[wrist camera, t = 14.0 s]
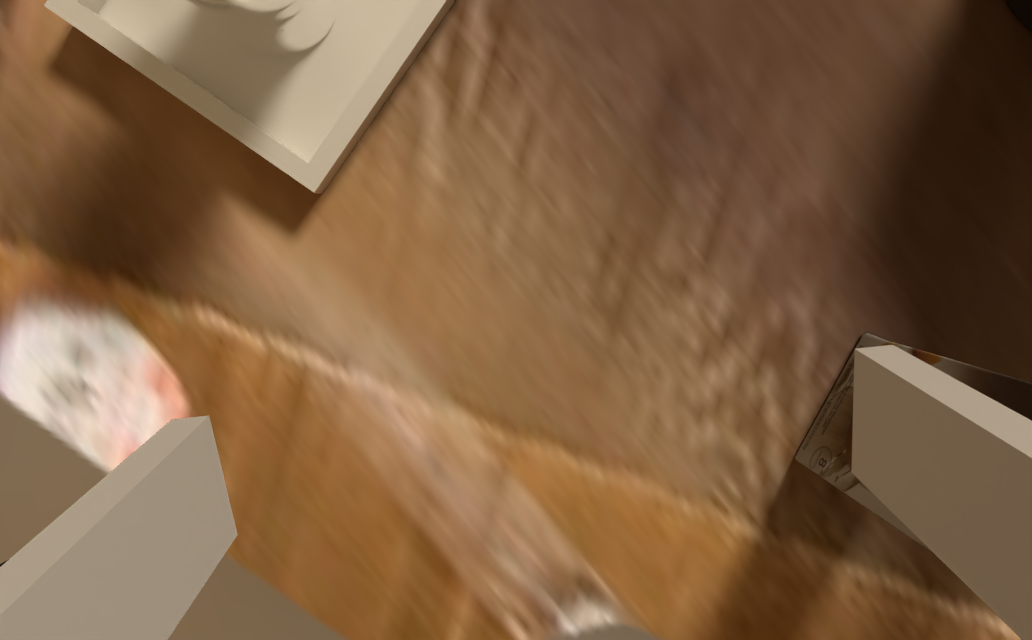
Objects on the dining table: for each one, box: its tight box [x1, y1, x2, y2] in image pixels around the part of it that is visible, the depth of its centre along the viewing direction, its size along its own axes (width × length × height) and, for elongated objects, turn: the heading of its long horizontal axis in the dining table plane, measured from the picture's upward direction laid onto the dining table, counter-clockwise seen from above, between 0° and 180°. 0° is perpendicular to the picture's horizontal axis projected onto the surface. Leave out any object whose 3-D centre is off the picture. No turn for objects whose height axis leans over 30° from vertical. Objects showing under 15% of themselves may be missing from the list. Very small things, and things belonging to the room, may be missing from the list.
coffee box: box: [795, 333, 1032, 554], centre depth 35 cm, size 9×6×16 cm
